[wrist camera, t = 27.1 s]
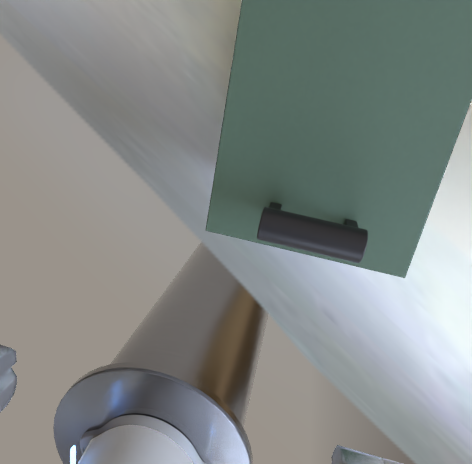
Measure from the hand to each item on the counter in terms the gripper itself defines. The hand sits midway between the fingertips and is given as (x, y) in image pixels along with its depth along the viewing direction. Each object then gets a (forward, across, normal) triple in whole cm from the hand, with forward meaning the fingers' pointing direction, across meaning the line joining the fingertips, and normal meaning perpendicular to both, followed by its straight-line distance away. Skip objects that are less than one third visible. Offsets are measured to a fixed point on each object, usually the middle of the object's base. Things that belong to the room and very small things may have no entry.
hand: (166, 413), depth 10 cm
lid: (+17, -3, -7) cm, 19 cm away
